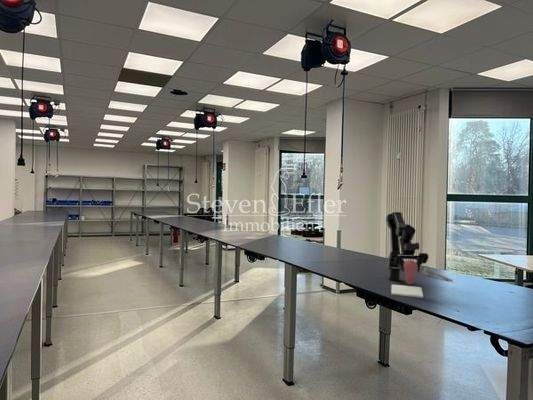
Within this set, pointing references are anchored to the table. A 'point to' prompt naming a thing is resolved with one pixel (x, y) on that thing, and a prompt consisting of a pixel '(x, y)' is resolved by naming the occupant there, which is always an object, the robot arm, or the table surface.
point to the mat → (407, 291)
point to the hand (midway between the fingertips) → (410, 271)
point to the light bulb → (410, 270)
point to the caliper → (434, 273)
